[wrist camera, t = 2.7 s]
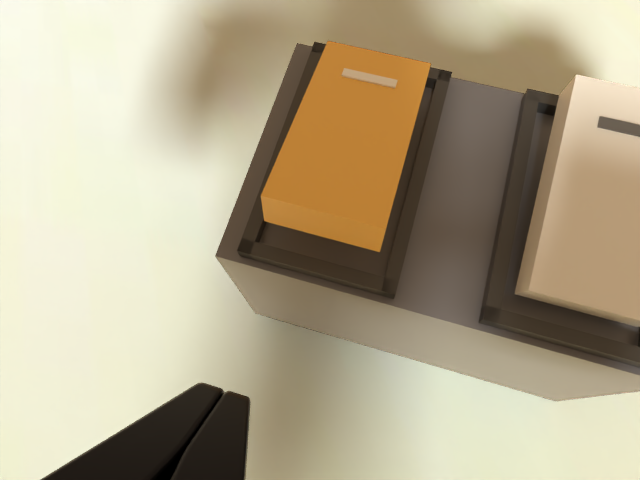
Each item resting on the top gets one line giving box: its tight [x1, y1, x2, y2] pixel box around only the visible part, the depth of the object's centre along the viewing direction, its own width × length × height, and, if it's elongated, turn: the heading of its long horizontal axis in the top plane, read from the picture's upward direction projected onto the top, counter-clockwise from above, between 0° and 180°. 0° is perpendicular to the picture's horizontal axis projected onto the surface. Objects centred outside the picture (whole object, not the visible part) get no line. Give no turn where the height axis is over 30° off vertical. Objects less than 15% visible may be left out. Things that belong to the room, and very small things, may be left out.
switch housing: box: [216, 42, 640, 401], centre depth 19 cm, size 8×13×8 cm, turn 73°
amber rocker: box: [261, 41, 431, 252], centre depth 15 cm, size 6×3×1 cm, turn 163°
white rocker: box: [515, 74, 640, 327], centre depth 14 cm, size 6×3×1 cm, turn 164°
